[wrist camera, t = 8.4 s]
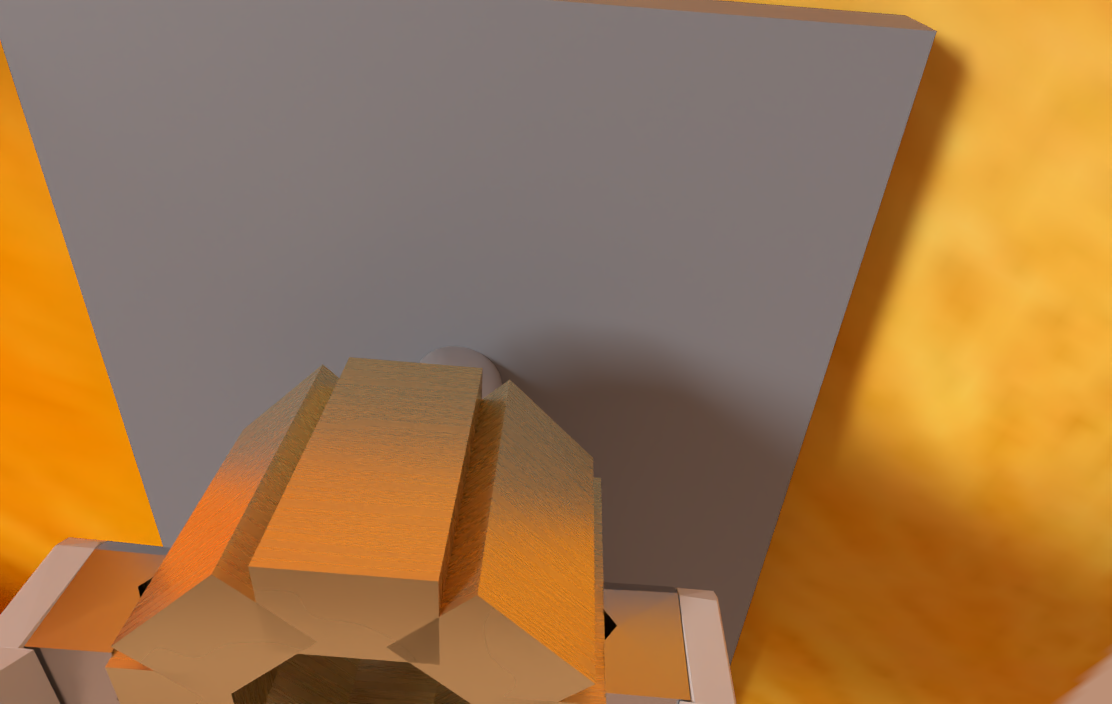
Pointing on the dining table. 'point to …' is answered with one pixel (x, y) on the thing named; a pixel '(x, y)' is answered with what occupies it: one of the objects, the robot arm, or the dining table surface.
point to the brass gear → (382, 555)
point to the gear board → (480, 226)
